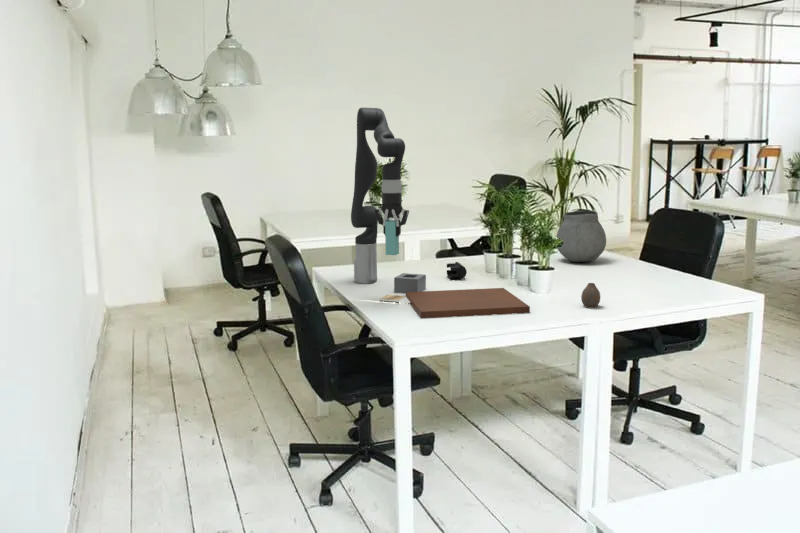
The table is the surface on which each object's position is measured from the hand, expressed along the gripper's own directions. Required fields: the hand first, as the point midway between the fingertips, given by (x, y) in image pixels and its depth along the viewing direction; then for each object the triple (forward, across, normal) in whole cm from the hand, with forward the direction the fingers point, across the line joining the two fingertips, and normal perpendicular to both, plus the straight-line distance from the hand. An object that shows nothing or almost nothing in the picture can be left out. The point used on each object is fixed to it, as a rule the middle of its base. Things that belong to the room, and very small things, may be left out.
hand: (392, 235), depth 291 cm
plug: (+7, 0, 0) cm, 7 cm away
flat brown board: (+26, +29, +1) cm, 39 cm away
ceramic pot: (+26, +57, +108) cm, 125 cm away
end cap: (+26, +11, +49) cm, 56 cm away
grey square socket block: (+25, +2, +14) cm, 29 cm away
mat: (+25, 0, 0) cm, 25 cm away
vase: (+26, +74, +14) cm, 80 cm away
